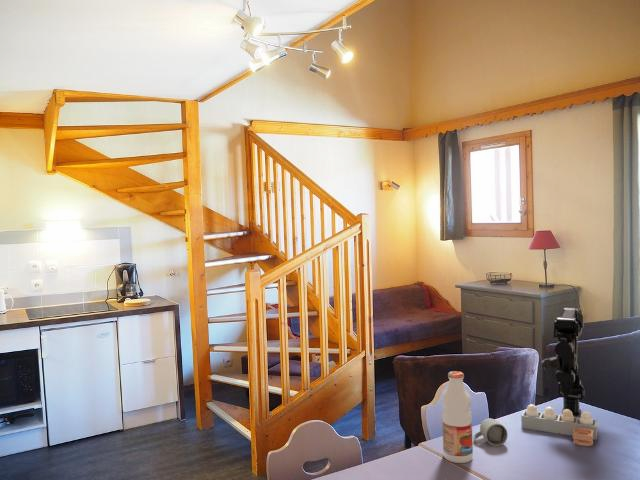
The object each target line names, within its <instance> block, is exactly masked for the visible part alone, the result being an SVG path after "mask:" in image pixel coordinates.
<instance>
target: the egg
mask: <svg viewBox="0 0 640 480" xmlns="http://www.w3.org/2000/svg"><path fill="white" fill-rule="evenodd" d="M543 413H544V414H543V417H544V418H545V419H551V420H556V412H555V409H554V408H553V406H546V407H545V409H544V412H543Z"/></svg>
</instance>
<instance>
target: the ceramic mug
mask: <svg viewBox="0 0 640 480" xmlns="http://www.w3.org/2000/svg"><path fill="white" fill-rule="evenodd" d="M479 430H480V431H478V432H476V433H475V434H474V435H472V440H473V441H474V443H475V444H484V443H486V442H487V443H488V444H489V445H491V446H493V447H500V446H503V445H504V444H505V443H506V442H507V440H508V430H507V428H506V427H505V425H503V424H502V423H500V422H499V421H498V420H496V419H494V418H492V417H491V418H490V417H489V418H485V419H483V420H482V421H481V423H480V426H479ZM481 436H482V438H480V437H481Z"/></svg>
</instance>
